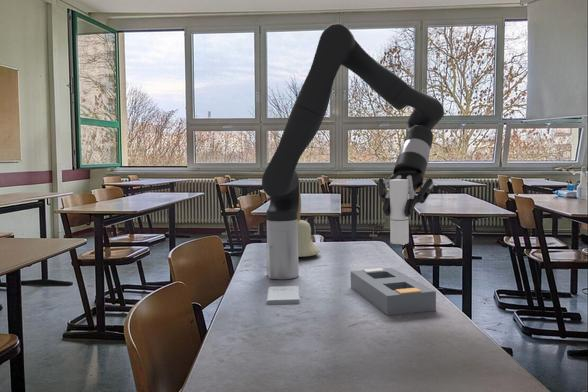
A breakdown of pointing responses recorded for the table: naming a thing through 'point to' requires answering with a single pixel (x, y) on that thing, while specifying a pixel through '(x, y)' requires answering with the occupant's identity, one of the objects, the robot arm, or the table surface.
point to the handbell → (305, 236)
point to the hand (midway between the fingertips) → (396, 214)
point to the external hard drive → (283, 295)
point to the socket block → (393, 291)
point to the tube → (398, 212)
